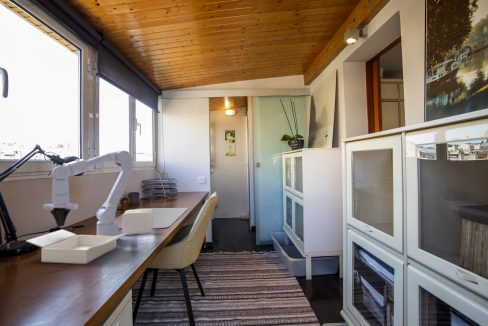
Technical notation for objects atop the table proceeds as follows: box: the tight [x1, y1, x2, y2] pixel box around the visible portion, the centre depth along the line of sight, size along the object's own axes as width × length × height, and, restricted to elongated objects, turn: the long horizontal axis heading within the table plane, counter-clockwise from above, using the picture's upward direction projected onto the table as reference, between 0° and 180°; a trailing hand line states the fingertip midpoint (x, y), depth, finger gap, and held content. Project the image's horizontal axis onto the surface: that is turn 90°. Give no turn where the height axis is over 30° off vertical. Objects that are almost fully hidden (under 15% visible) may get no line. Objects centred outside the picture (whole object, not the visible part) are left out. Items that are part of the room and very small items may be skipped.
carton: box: [40, 234, 117, 265], centre depth 100 cm, size 18×18×5 cm
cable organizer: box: [121, 208, 154, 236], centre depth 133 cm, size 15×11×12 cm
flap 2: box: [89, 232, 131, 249], centre depth 99 cm, size 16×7×1 cm, turn 174°
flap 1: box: [25, 229, 77, 249], centre depth 101 cm, size 16×7×1 cm, turn 174°
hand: (60, 226), depth 105 cm, fingers closed
